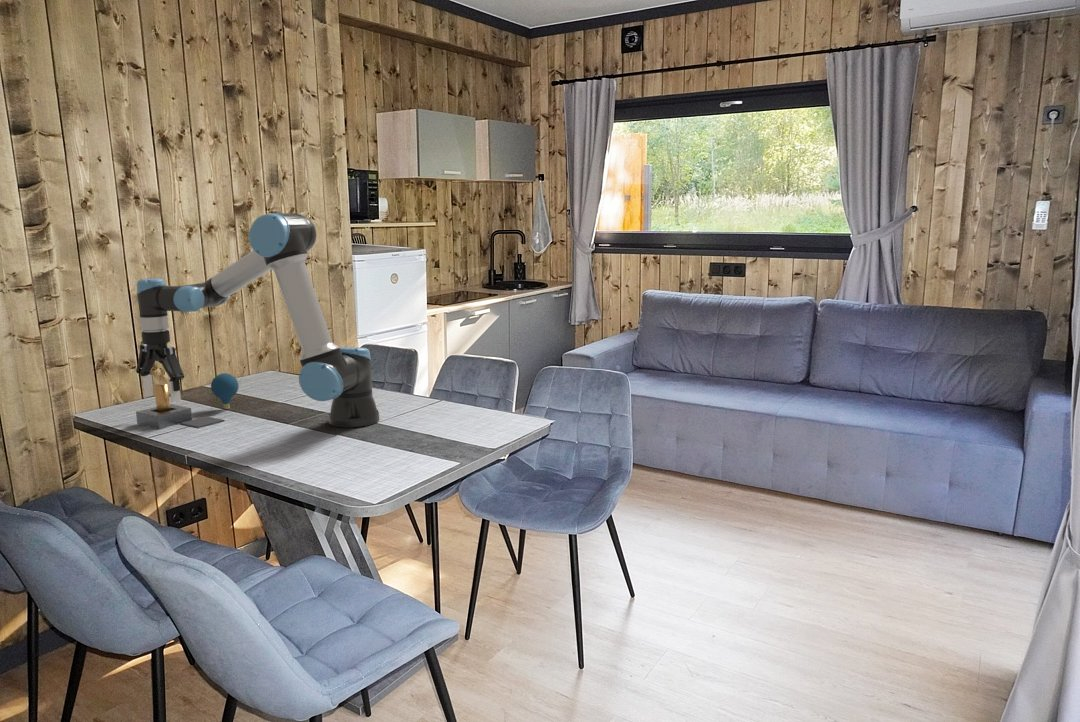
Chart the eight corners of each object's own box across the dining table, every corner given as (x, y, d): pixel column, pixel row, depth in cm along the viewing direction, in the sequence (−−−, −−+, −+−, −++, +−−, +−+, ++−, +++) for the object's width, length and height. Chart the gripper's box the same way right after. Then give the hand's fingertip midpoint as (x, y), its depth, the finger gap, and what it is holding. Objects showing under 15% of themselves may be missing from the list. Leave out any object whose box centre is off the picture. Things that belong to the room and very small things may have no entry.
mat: (224, 421, 234) (224, 419, 234) (198, 428, 227) (198, 426, 227) (206, 417, 239) (205, 416, 239) (180, 424, 231) (179, 422, 231)
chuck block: (192, 420, 235) (191, 408, 235) (159, 429, 226) (157, 416, 225) (170, 416, 241) (169, 403, 240) (137, 424, 231) (135, 411, 231)
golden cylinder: (174, 421, 234) (170, 383, 232) (163, 424, 231) (158, 386, 229) (166, 420, 236) (162, 382, 234) (155, 423, 233) (151, 385, 230)
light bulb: (222, 413, 243) (218, 377, 241) (208, 410, 248) (204, 374, 246) (245, 408, 250) (242, 372, 247) (231, 405, 255) (228, 370, 252)
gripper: (192, 331, 225) (199, 400, 229) (142, 325, 237) (149, 391, 241) (169, 334, 219) (176, 406, 223) (118, 328, 231) (126, 396, 235)
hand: (162, 398), depth 232 cm, fingers open, 13 cm apart
